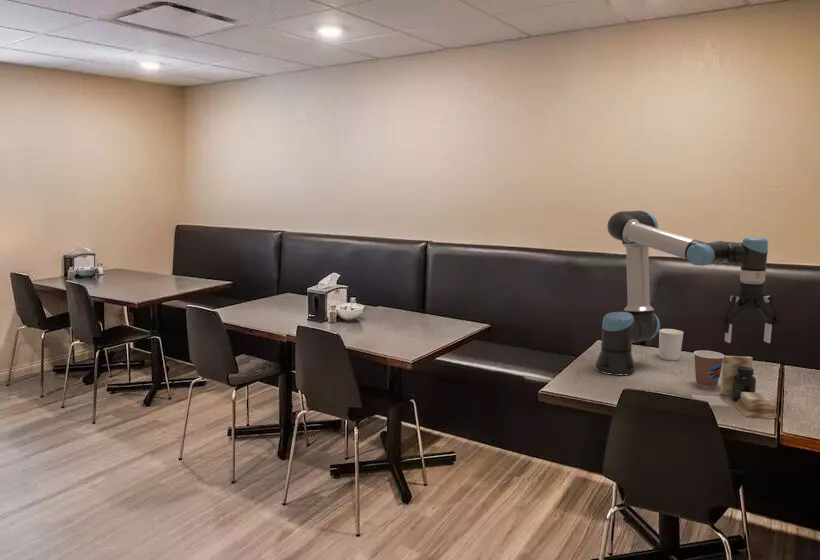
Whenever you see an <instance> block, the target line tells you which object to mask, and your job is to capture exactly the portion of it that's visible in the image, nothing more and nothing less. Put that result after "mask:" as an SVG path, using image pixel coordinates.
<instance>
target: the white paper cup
mask: <svg viewBox="0 0 820 560" xmlns="http://www.w3.org/2000/svg"><path fill="white" fill-rule="evenodd" d="M658 333H659V335H658V337H659V338H658V340H659V341H658V357H659V358H660V359H662V360H666V361H678V360H680V359H681V352H682V345H683V338H684V331H682V330H679V329H674V328H661V329H659V332H658Z"/></svg>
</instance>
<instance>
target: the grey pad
mask: <svg viewBox="0 0 820 560" xmlns="http://www.w3.org/2000/svg"><path fill="white" fill-rule="evenodd" d="M690 397H693V398H697V399H701V400H706V401H708V402H709V403H710V404H711V406H712V407H711V408H721V407H722V409H723V408H726V409H728V408H729V407H728V406H729V405H728V404H727V403H726V402H724V400H722V398H721V397H719V396H716V395H715V396H713V395H701V394H700V395H698V394H696V395H695V394H691V395H690Z"/></svg>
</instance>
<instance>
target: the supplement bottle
mask: <svg viewBox="0 0 820 560" xmlns="http://www.w3.org/2000/svg"><path fill="white" fill-rule="evenodd" d="M754 370H755V369H754V368H753V367H752V368H750V367H738V371H737V373H738V374H736V375H735V376H734V380H733V391H732V395H731V400H732V401H734V402H735V403H738V399H741V392H752V393H756V387H757V378H756V377H755V376H754V375H755V373H754V372H755V371H754Z"/></svg>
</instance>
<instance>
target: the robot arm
mask: <svg viewBox="0 0 820 560" xmlns="http://www.w3.org/2000/svg"><path fill="white" fill-rule="evenodd" d="M658 227H659V225H658V221H657V219H656V217H655V216H654V215H653V214H652V213H651V212H649V211H644V210H629V211H627V210H626V211H625V210H622V211H618V212H615V213H614V214H612V215H611V216H610V217H609V218H608V221H607V232H608V233H609V235H610V236H611V237H612V238H613V239H615V240H618V241H621V243H622V246H623V247H625V249H626V250H625V253H626V256H625V257H626V284H627V285H626V289H627V290H626V291H627V305H626V307H625V308H624V309H623V311H612V312H608V313H606V314H605V315H604V316H603V319H602V324H601V345H600V347H601V348H600V352H599V355H598V357H597V359H596V362H595V369H596V368H597V369H598V370H600V371H603V372H606V373H611V374H623V375H622V376H626V375H625V374H631V375H633V374H635V373H634V372H636V365H635V362H634V358H633V354H632V346H633V345H632V344H633V343H639V342H646V341H648V340H652V339H653V338H655V337H656V336H657V335H658V333H659V330H660V328H661V322H660V319H659V317H658V316H657V315H656V314H655V313H654V312H655V309H654V307H653V306H651V304H650V263H649V262H650V261H649V259H650V258H649V257H650V256H649V253H650V252H649V248H651V249H654V250H657V251H660V252H664V253H666V254H668V255H669V254H670V255H673V256H676V257H679V258H682V259H684V260H686V261H688V262H689V263H690V264H692V265H694V266H703V267H704V266H708V265H709V266H710V265H717V264H736V265H740V272H739V273H740V274H739V275H740V277H739V281H740V282H739V287H738V295H737V296H734V295H732V294H731V295H729V298H728V301H727V303H726V305H725V306H724V308H723V310H722V311H721V313H720V315H719V316H718V318H717V321H718V322H721V323H723V324H722V325H723V328H722V332H723V333H724V342H726V343H727V344H731V342H732V331H733V330H732V329H733V324H732V322H733V321H734V320H735V319H736V317H737V316H739V315H740V314H741V312H743V311H744V310H745V309H746V310H757V311H758V312H759V313H760V314H761V316H762V317H763V319H765V323H764V334H763V342H765V343H767V344H771V338H772V334H773V333H774V330H775V326H776V325H777V324H780V323H781V321H782V320H781V319H780V317H779V314H778V311H777V309H776V307H775V305H774V297H773V296H771V295H765V296H764V294H765V286H766V285H765V282H766V274H767V273H766V272H767V268H766V267H767V261H768V253H769V249H768V247H769V242H768V239H767V238H764V237H752V236H751V237H744V238H743V239H742V242H734V241H723V240H720V241H719V240H718V241H717V240H713V241H710V242H705V241H701V240H697V239H694V238H690V237H688V236H685V235H681V234H678V233H676V232H672V231H667V230H664V229H661V228H658ZM737 302H738V303H737ZM763 302H765V305H766V307H767V310H768V311H767V310H766V309H765V306H764V305H763V304H762V303H763ZM736 303H737V305H736ZM735 305H736V306H735ZM733 308H734V309H733ZM598 370H597V371H598ZM600 371H599V372H600ZM606 373H605V374H606ZM632 373H633V374H632ZM611 374H610V375H611Z"/></svg>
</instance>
